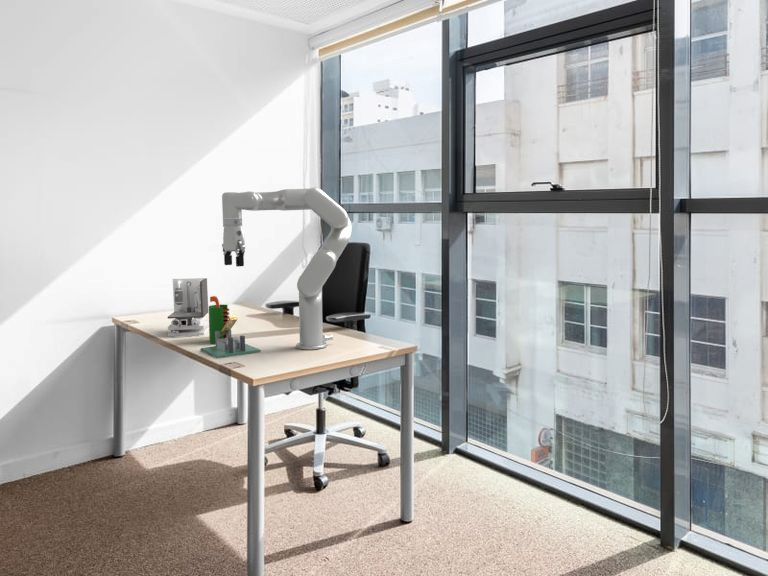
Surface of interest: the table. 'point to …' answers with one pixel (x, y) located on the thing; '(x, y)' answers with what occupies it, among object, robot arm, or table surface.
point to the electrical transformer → (189, 307)
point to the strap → (228, 325)
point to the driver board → (231, 349)
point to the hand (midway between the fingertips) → (234, 265)
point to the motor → (217, 318)
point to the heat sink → (226, 342)
